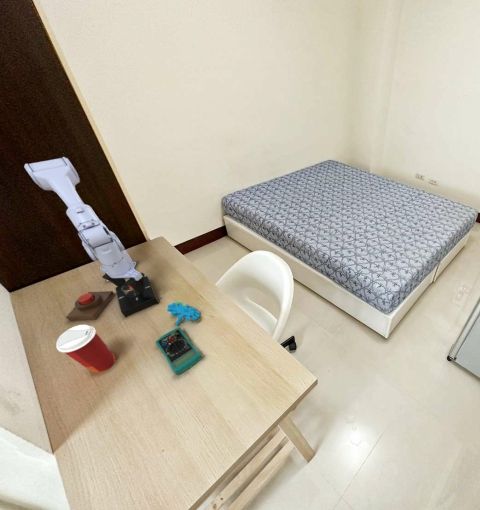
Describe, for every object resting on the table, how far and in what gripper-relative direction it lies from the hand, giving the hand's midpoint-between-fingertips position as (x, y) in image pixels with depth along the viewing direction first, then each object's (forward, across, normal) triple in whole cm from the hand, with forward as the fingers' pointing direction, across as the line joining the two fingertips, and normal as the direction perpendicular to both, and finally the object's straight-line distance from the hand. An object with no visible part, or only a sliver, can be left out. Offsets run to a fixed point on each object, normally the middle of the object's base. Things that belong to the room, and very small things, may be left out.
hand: (133, 289), depth 91 cm
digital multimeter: (+5, -29, +14) cm, 33 cm away
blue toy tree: (+5, -22, +2) cm, 23 cm away
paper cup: (+5, -11, +23) cm, 26 cm away
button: (+1, +11, +8) cm, 14 cm away
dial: (+1, 0, 0) cm, 1 cm away
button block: (+4, +11, +8) cm, 14 cm away
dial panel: (+4, 0, 0) cm, 4 cm away
